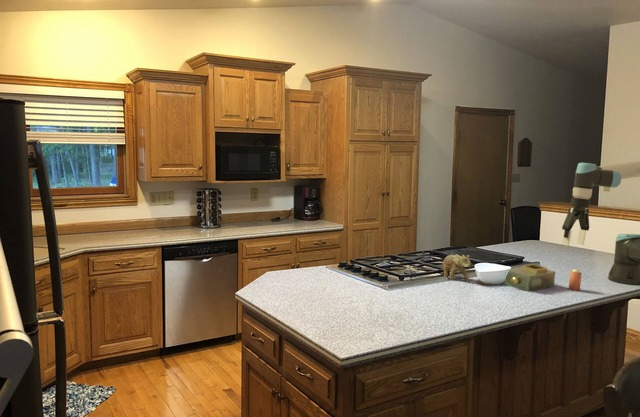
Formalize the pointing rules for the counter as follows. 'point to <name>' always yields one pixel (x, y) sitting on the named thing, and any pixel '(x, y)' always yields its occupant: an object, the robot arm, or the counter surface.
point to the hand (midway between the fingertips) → (572, 244)
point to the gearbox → (530, 278)
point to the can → (575, 280)
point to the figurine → (456, 265)
